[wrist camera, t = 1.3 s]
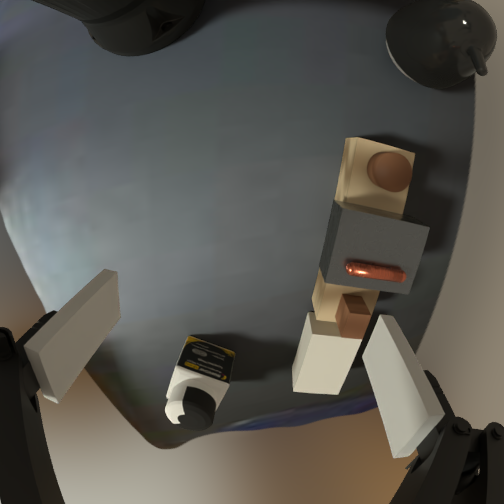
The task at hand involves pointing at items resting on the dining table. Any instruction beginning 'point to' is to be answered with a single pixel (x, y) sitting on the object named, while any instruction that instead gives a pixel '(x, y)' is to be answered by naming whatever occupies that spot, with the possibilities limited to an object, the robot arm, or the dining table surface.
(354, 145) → the cream wooden plank
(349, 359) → the block
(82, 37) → the dining table surface
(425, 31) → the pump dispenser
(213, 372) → the medicine bottle
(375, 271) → the lever cap
